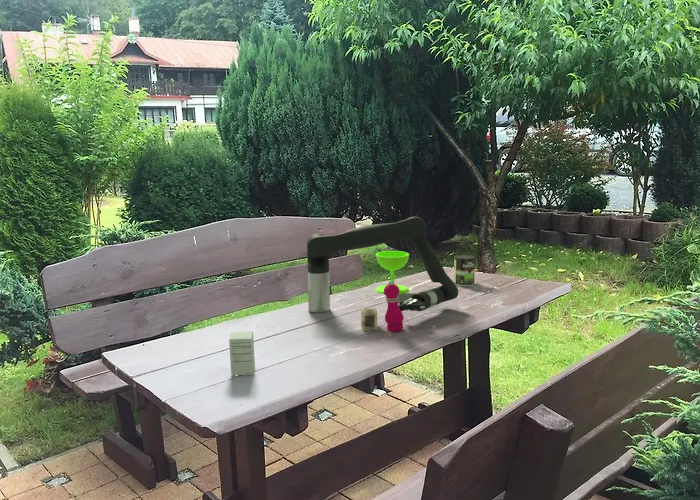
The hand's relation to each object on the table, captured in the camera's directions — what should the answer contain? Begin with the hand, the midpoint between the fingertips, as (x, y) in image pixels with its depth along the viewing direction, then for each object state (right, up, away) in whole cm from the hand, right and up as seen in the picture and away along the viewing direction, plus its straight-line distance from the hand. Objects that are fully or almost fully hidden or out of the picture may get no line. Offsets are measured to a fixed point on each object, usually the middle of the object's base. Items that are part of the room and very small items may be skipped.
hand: (398, 308), depth 241 cm
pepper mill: (-1, -8, 0) cm, 8 cm away
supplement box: (-54, -17, -40) cm, 69 cm away
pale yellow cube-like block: (-11, -8, +3) cm, 14 cm away
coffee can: (+38, +6, +68) cm, 78 cm away
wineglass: (+2, +3, +58) cm, 58 cm away
